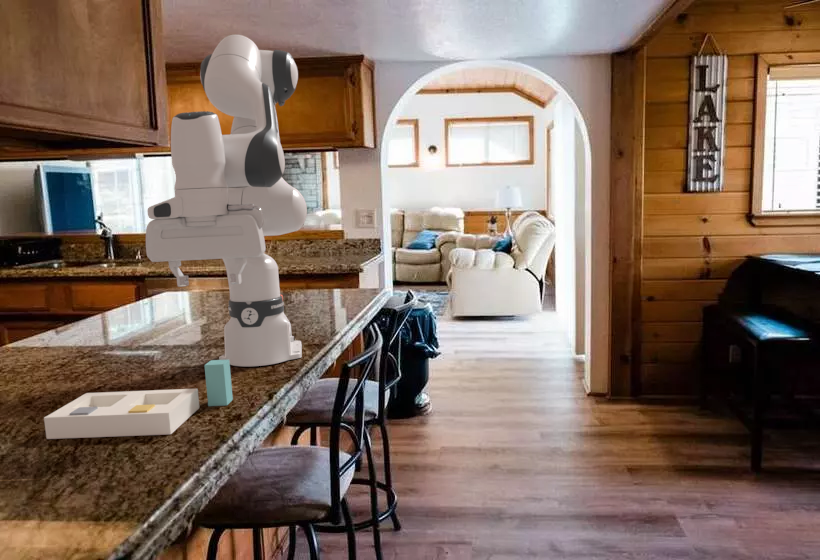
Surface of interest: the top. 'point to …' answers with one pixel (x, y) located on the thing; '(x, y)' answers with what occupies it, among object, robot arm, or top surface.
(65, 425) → the socket block
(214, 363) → the plug
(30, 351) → the top surface
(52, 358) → the top surface
